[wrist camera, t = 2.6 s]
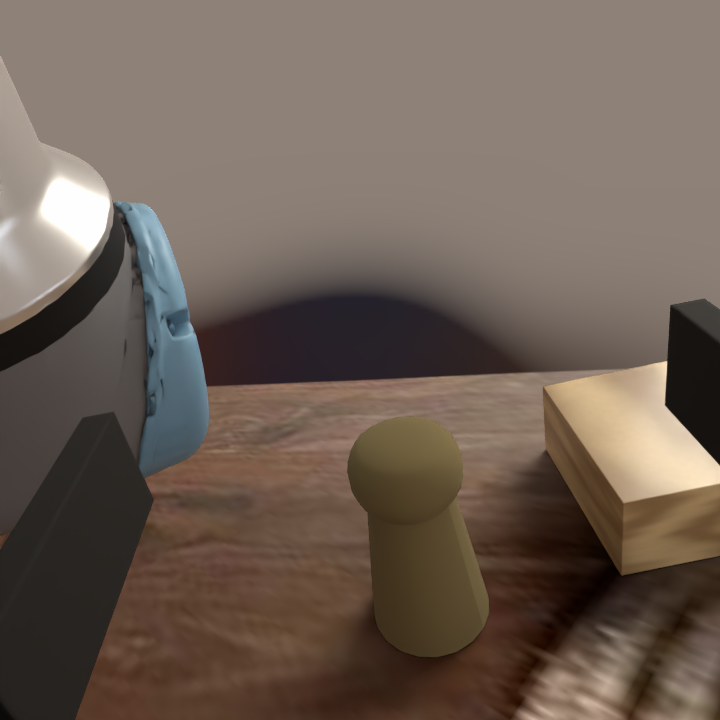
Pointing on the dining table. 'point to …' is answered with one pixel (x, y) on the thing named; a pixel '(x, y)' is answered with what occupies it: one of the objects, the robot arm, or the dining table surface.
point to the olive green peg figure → (418, 537)
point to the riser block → (634, 468)
